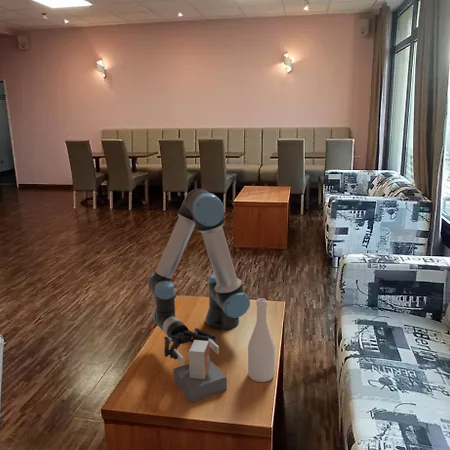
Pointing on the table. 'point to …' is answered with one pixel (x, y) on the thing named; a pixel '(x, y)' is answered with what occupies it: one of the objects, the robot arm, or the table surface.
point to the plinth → (200, 382)
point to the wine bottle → (261, 347)
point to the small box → (199, 359)
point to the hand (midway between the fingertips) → (200, 355)
